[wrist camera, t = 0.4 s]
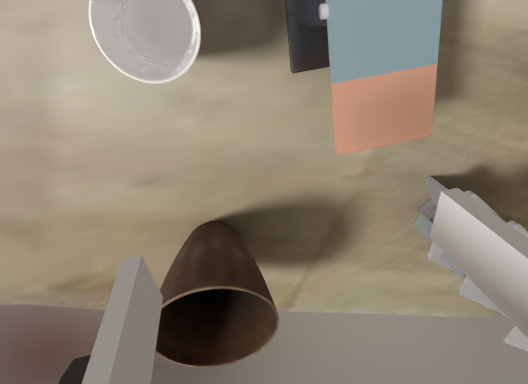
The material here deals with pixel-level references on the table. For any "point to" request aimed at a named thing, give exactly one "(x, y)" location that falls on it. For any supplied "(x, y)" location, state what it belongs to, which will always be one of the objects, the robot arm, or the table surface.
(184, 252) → the plant pot
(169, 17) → the white cup
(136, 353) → the robot arm
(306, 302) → the table surface
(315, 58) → the pivot stand
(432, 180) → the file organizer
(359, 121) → the balance beam
